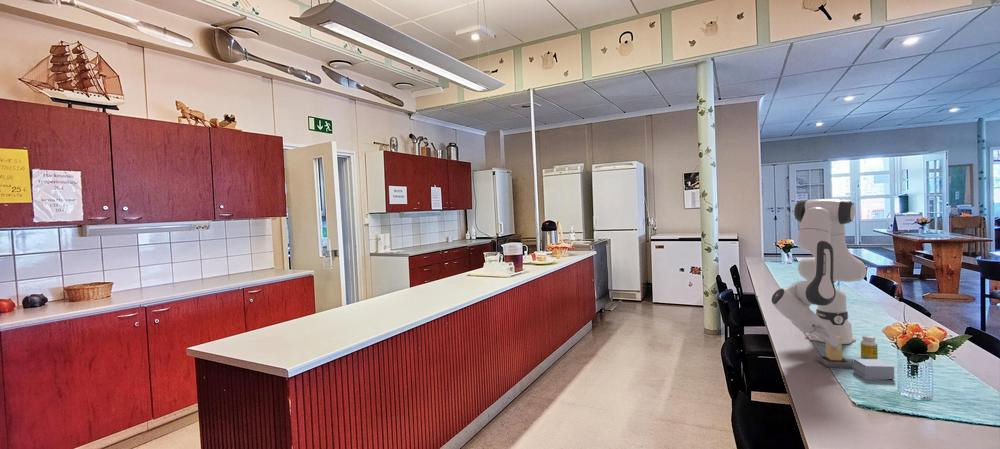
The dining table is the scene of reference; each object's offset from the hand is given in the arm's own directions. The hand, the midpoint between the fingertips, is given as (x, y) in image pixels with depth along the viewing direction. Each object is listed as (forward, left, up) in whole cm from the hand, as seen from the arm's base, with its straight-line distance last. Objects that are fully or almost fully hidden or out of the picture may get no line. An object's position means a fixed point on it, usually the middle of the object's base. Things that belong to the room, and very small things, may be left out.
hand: (835, 346), depth 181 cm
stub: (0, -1, -5) cm, 5 cm away
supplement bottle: (-7, +15, -7) cm, 18 cm away
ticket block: (+12, +7, -7) cm, 16 cm away
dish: (0, -1, -7) cm, 7 cm away
